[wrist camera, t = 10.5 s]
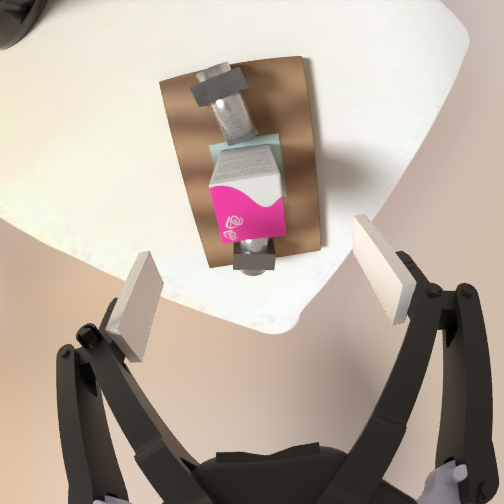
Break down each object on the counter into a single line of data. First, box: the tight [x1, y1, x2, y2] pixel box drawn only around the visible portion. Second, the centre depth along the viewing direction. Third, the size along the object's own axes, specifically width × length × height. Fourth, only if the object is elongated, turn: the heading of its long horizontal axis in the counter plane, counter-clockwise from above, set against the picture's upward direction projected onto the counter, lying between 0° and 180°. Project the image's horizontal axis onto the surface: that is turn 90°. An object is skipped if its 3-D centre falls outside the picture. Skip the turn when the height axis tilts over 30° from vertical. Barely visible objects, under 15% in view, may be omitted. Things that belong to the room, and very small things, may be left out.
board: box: [159, 56, 321, 268], centre depth 32 cm, size 26×16×1 cm, turn 10°
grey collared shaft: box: [190, 62, 259, 146], centre depth 25 cm, size 9×5×4 cm, turn 21°
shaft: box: [233, 237, 276, 276], centre depth 35 cm, size 9×5×4 cm, turn 178°
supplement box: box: [209, 144, 286, 243], centre depth 27 cm, size 6×6×12 cm
